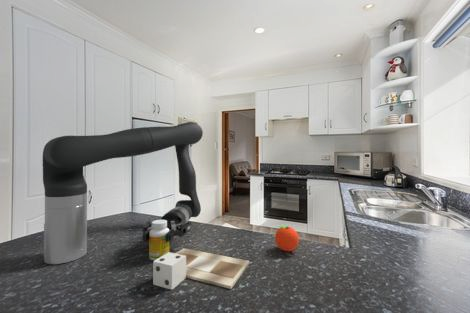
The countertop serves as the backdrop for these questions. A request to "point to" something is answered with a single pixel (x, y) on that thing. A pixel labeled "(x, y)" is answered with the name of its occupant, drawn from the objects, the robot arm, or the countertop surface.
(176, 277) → the die
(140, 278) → the countertop surface
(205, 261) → the board
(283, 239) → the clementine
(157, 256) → the supplement bottle
